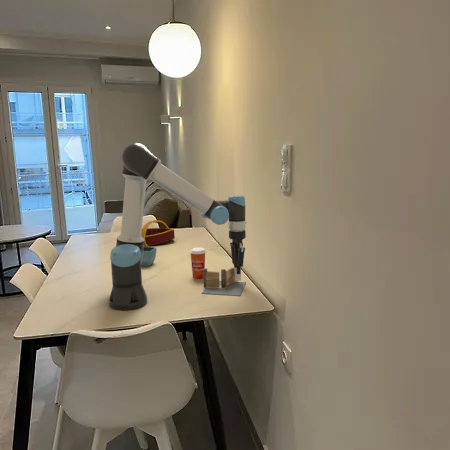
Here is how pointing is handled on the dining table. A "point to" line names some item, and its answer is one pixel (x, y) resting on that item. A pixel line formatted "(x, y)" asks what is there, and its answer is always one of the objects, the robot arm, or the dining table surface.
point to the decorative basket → (156, 234)
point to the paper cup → (198, 262)
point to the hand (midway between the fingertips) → (237, 280)
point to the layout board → (226, 289)
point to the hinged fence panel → (230, 276)
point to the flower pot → (148, 256)
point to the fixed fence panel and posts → (214, 278)
